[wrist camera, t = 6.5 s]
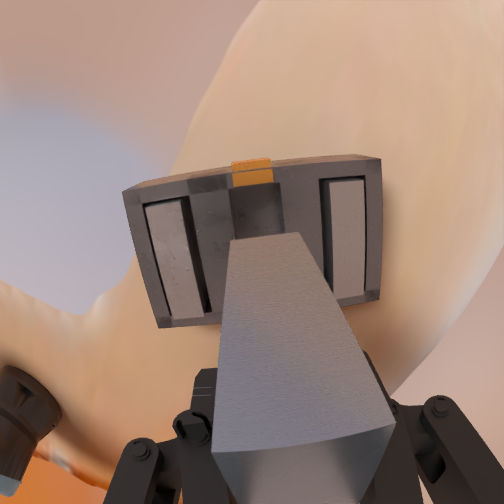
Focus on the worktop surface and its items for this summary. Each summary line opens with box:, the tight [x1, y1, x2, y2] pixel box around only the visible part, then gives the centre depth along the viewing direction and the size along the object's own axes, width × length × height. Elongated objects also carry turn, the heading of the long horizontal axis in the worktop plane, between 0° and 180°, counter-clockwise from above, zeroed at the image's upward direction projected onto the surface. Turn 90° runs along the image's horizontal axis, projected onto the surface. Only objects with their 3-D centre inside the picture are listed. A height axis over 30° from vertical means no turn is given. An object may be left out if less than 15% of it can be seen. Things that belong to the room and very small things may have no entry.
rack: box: [122, 154, 383, 328], centre depth 27 cm, size 21×14×7 cm, turn 97°
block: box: [211, 232, 396, 504], centre depth 10 cm, size 9×3×10 cm, turn 7°
